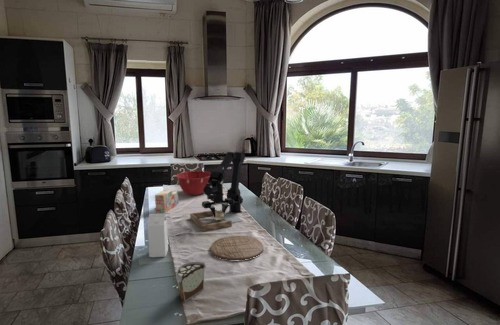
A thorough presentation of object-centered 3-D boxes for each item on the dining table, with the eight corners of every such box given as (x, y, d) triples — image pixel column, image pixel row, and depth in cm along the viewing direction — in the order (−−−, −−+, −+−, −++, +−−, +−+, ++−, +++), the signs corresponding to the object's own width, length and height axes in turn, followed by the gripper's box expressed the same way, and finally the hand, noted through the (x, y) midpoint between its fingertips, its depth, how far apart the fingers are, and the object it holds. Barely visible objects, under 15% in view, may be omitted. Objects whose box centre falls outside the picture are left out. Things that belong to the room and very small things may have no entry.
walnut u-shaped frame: (216, 214, 199) (216, 209, 198) (231, 226, 178) (231, 221, 177) (190, 218, 191) (190, 213, 191) (203, 231, 170) (203, 226, 170)
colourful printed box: (170, 203, 223) (169, 187, 221) (178, 204, 222) (177, 187, 220) (155, 213, 202) (154, 194, 200) (164, 213, 201) (163, 195, 199)
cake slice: (194, 282, 119) (193, 258, 117) (206, 287, 115) (205, 262, 114) (169, 298, 109) (167, 271, 107) (181, 304, 105) (180, 276, 104)
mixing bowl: (210, 197, 237) (209, 178, 235) (172, 197, 238) (172, 178, 235) (214, 188, 265) (214, 171, 263) (181, 188, 266) (180, 171, 263)
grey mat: (232, 213, 199) (232, 213, 199) (243, 220, 186) (243, 220, 186) (219, 216, 195) (219, 215, 195) (229, 223, 182) (229, 222, 182)
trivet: (270, 257, 140) (270, 253, 139) (215, 265, 133) (215, 261, 132) (254, 236, 163) (254, 233, 163) (206, 242, 156) (206, 238, 156)
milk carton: (152, 250, 146) (150, 211, 143) (168, 250, 147) (166, 211, 144) (149, 257, 139) (147, 217, 136) (165, 257, 140) (163, 216, 137)
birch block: (220, 216, 190) (220, 210, 189) (224, 218, 186) (223, 212, 185) (213, 217, 188) (213, 211, 187) (216, 220, 183) (216, 213, 183)
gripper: (227, 186, 195) (227, 210, 198) (198, 190, 187) (199, 215, 189) (234, 190, 186) (234, 215, 188) (204, 194, 177) (205, 220, 180)
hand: (218, 216), depth 187 cm, fingers closed on birch block, 5 cm apart
